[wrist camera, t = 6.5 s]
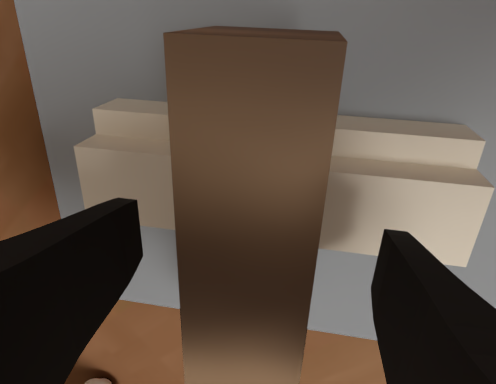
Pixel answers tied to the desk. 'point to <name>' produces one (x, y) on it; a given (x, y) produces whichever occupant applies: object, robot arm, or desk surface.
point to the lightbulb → (98, 381)
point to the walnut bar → (249, 192)
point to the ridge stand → (345, 139)
